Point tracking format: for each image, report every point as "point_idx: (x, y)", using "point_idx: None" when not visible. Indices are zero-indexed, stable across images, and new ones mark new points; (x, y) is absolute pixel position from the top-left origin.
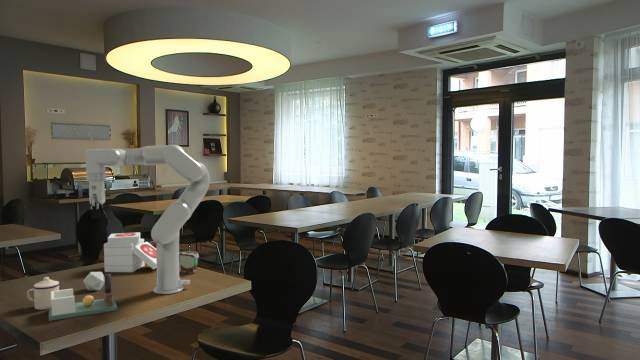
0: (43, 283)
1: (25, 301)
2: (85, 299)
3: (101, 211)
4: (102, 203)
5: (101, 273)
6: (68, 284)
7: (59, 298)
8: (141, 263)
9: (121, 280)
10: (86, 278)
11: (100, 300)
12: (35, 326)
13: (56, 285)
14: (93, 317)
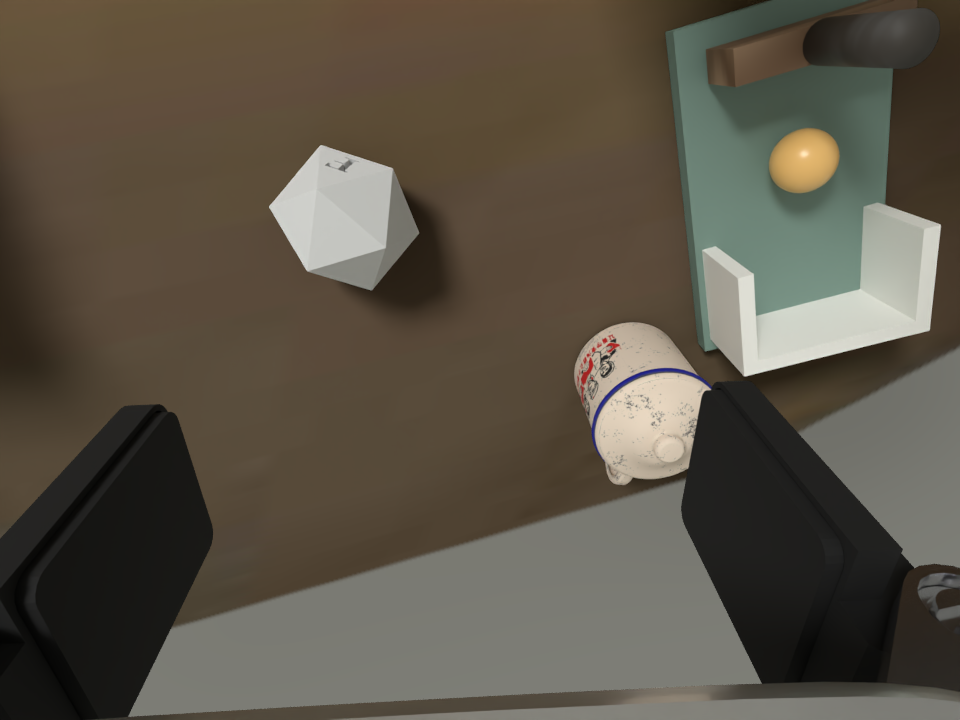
0: None
1: (504, 473)
2: (831, 175)
3: (128, 506)
4: (887, 691)
5: (333, 186)
6: (214, 380)
7: (931, 296)
8: None
9: (124, 64)
10: (378, 273)
11: (711, 106)
12: None
13: (690, 376)
14: (940, 94)
